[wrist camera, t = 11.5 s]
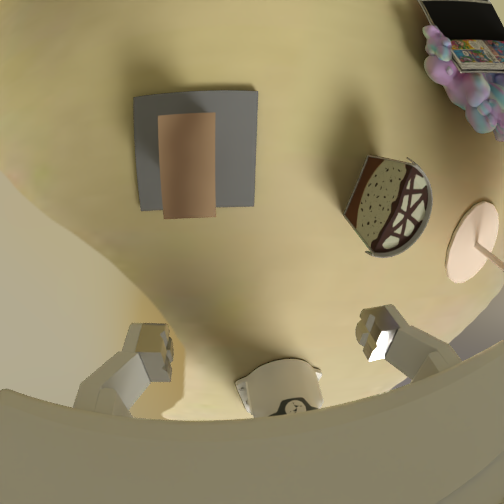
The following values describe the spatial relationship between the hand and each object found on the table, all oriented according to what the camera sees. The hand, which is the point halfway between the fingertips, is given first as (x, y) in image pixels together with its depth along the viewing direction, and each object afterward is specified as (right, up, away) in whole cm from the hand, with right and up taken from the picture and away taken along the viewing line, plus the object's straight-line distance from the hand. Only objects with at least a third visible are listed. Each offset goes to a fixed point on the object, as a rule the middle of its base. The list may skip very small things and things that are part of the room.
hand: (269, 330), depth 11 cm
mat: (-7, +15, +19) cm, 25 cm away
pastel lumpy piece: (+31, +33, +15) cm, 48 cm away
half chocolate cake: (+16, +12, +25) cm, 32 cm away
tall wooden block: (-7, +14, +18) cm, 24 cm away
